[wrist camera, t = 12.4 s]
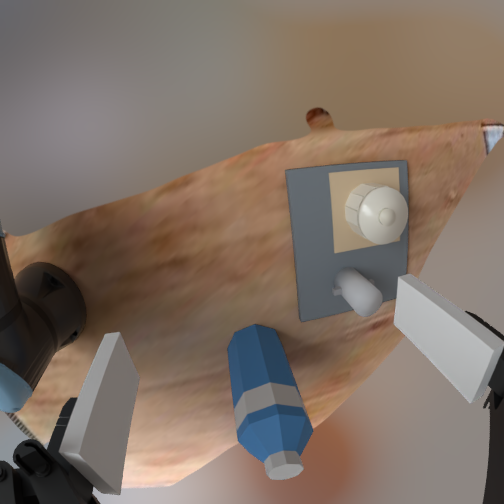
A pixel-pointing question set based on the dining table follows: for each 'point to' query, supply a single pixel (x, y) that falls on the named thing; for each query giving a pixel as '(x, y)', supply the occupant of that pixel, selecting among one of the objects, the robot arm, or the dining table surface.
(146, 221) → the dining table surface
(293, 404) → the water bottle
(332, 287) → the board
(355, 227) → the cap
